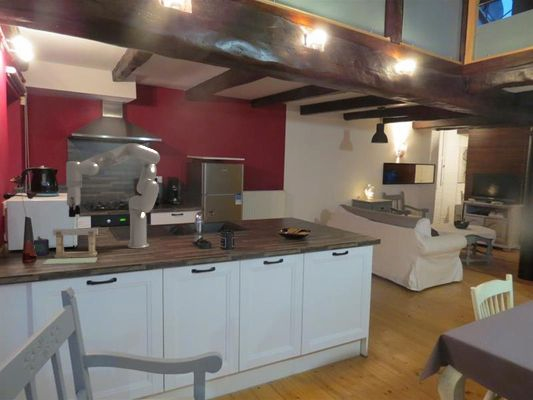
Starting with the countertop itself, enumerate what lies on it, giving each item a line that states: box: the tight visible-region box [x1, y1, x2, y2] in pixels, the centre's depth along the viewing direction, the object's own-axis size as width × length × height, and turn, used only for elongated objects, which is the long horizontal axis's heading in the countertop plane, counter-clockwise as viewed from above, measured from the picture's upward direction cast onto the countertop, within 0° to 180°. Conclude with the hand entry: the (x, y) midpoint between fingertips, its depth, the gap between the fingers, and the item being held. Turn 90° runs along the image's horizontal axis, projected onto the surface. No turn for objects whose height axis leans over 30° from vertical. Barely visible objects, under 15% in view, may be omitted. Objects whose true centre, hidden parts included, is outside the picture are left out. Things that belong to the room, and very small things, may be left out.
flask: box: [33, 235, 50, 257], centre depth 201 cm, size 9×3×11 cm, turn 117°
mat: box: [41, 256, 98, 266], centre depth 192 cm, size 9×24×1 cm, turn 105°
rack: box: [54, 231, 98, 259], centre depth 203 cm, size 6×20×14 cm, turn 105°
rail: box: [52, 227, 99, 237], centre depth 202 cm, size 3×22×3 cm, turn 105°
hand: (74, 215), depth 201 cm, fingers open, 9 cm apart
